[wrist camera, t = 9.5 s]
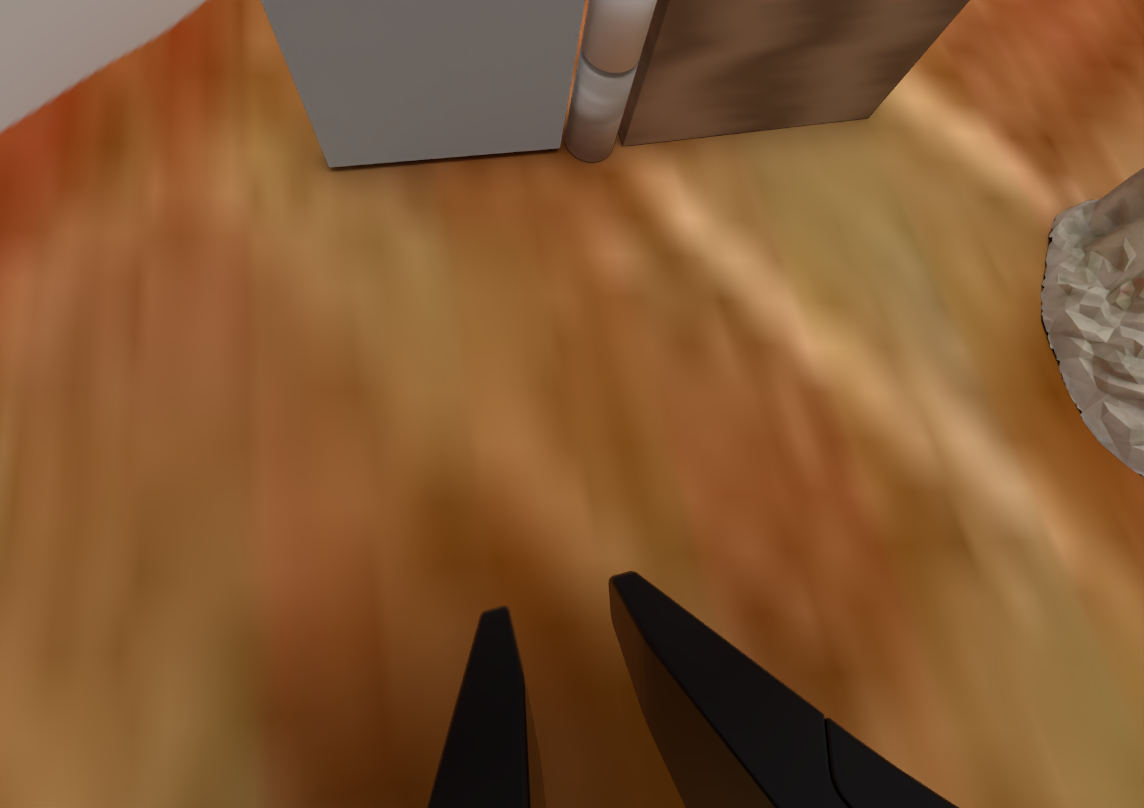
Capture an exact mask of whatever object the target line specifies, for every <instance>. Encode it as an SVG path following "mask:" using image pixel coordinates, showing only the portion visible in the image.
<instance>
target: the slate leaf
mask: <svg viewBox="0 0 1144 808" xmlns="http://www.w3.org/2000/svg"><path fill="white" fill-rule="evenodd" d="M261 2H262V5H263V7H264V9H265V12H266V14H267V17H268V19H269V22H270V24H271V27H272V29H273V31H274V34H275V36H276V39H277V41H278V44H279V46H280V49H281V51H282V53H283V56H284V58H285V61H286V63H287V66H288V68H289V71H290V73H291V75H292V78H293V80H294V83H295V85H296V88H297V90H298V93H299V95H300V97H301V100H302V102H303V105H304V107H305V110H306V112H307V115H308V117H309V119H310V122H311V124H312V127H313V129H314V132H315V134H316V137H317V139H318V141H319V144H320V146H321V149H322V151H323V154H324V156H325V159H326V161H327V163H328V166H329V167H341V166H353V165H365V164H377V163H389V162H401V161H413V160H425V159H437V158H449V157H461V156H473V155H485V154H497V153H509V152H521V151H533V150H545V149H557V148H560V145H561V139H562V133H563V127H564V121H565V115H566V110H567V104H568V98H569V92H570V86H571V80H572V74H573V69H574V63H575V57H576V51H577V45H578V39H579V33H580V27H581V22H582V16H583V10H584V4H585V0H261ZM656 2H657V0H589V2H588V8H587V14H586V19H585V25H584V31H583V36H582V42H581V47H582V51H583V54H584V56H585V57H586V59H587V60H588V61H589V62H590V63H591V64H592V65H594V66H595V67H597V68H598V69H600V70H603V71H606V72H610V73H621V72H626V71H628V70H630V69H632V68H633V67H634V66H635V65H636V64H637V63H638V61H639V59H640V56H641V52H642V49H643V46H644V42H645V39H646V36H647V32H648V29H649V26H650V22H651V19H652V16H653V12H654V9H655V6H656Z"/></svg>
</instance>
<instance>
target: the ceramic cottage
mask: <svg viewBox="0 0 1144 808" xmlns="http://www.w3.org/2000/svg"><path fill="white" fill-rule="evenodd" d="M1055 219H1056V220H1055V221H1054V222H1053V224H1052V226H1051V229H1053V231H1052V232H1051V233H1050V236H1049V238H1050V237H1052V242H1051V243H1050V244H1049V246H1048V250H1047V256H1046V263H1047V267H1046V269H1045V277H1046V278H1045V279H1044V280H1043V281H1042V286H1044V288H1043V289H1044V290H1043V289H1042V290H1043V291H1042V292H1041V301H1042V303H1043V304H1042V306H1041V309H1042V310H1043V312H1042V313H1041V314H1042V315H1043V321H1044V324H1045V328H1046V331H1047V332H1048V333H1049V335H1048V339H1049V342H1050V347H1051V348H1053V349H1054V352H1055V354H1056V357H1057V359H1056V360H1059V361H1060V365H1059V369H1060V372H1061V373H1062V376H1063V381H1064V382H1065V384H1066V387H1067V389H1068V391H1069V393H1070V395H1071V398H1072V400H1073V402H1074V403H1075V404H1077V407H1078V408H1079V409H1080V410H1081V411H1082V413H1081V414H1080V415H1081V417H1082V418H1083V421H1084V422H1085V424H1086V425H1087V427H1088V428H1089V429H1090V431H1091V432H1092V433H1093V435H1094V436H1095V437H1096V438H1097V440H1098V441H1099V442H1100V443H1101V444H1102V445H1103V446H1104V447H1106V448H1107V449H1108V450H1109V451H1110V452H1111V453H1112V454H1114V455H1115V456H1116V457H1117V458H1118V459H1120V460H1121V461H1122V462H1123V463H1124V464H1126V465H1127V466H1128V467H1130V468H1131V469H1132V470H1134V471H1135V472H1136V473H1138V474H1141V475H1142V476H1143V477H1144V168H1143V169H1141V170H1140V171H1138V172H1137V173H1135V174H1134V175H1132V176H1131V177H1129V178H1128V179H1127V180H1125V181H1124V182H1123V183H1121V184H1120V185H1119V186H1118V187H1116V188H1115V189H1114V190H1112V191H1111V192H1110V193H1108V194H1107V195H1106V196H1104V197H1103V198H1101V199H1100V200H1091V201H1085V202H1083V203H1081V204H1078V205H1076V206H1073V207H1071V208H1069V209H1067V210H1065V211H1063V212H1062V213H1060V214H1059V215H1057V216H1056V218H1055Z"/></svg>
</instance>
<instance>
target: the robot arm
mask: <svg viewBox="0 0 1144 808" xmlns="http://www.w3.org/2000/svg"><path fill="white" fill-rule="evenodd" d="M609 595H610V609H611V617H612V622H613V626H614V629H615V632H616V635H617V638H618V641H619V644H620V647H621V650H622V653H623V656H624V659H625V662H626V665H627V668H628V671H629V674H630V677H631V680H632V683H633V685H634V688H635V691H636V694H637V697H638V700H639V703H640V706H641V709H642V712H643V714H644V717H645V720H646V722H647V725H648V727H649V729H650V732H651V734H652V736H653V739H654V741H655V743H656V745H657V747H658V749H659V751H660V754H661V756H662V758H663V760H664V762H665V764H666V766H667V769H668V771H669V773H670V775H671V777H672V779H673V781H674V783H675V786H676V788H677V790H678V792H679V794H680V796H681V798H682V801H683V803H684V805H685V807H686V808H959V807H957V806H956V805H954V804H952V803H951V802H949V801H948V800H946V799H945V798H943V797H941V796H940V795H938V794H937V793H935V792H934V791H932V790H931V789H929V788H928V787H926V786H925V785H923V784H922V783H920V782H919V781H917V780H916V779H914V778H913V777H911V776H910V775H908V774H906V773H905V772H903V771H902V770H900V769H899V768H897V767H896V766H894V765H893V764H892V763H890V762H889V761H888V760H886V759H885V758H883V757H882V756H881V755H879V754H878V753H876V752H875V751H874V750H872V749H871V748H869V747H868V746H867V745H865V744H864V743H863V742H861V741H860V740H858V739H857V738H856V737H854V736H853V735H852V734H850V733H849V732H848V731H846V730H845V729H844V728H842V727H841V726H840V725H838V724H837V723H836V722H834V721H833V720H832V719H830V718H826V719H825V717H824V714H823V713H822V712H821V711H819V710H818V709H817V708H815V707H814V706H813V705H811V704H810V703H809V702H808V701H806V700H805V699H804V698H802V697H801V696H800V695H798V694H797V693H796V692H794V691H793V690H792V689H790V688H789V687H788V686H786V685H785V684H784V683H782V682H781V681H780V680H778V679H777V678H776V677H774V676H773V675H772V674H770V673H769V672H768V671H766V670H765V669H764V668H762V667H761V666H760V665H758V664H757V663H756V662H754V661H753V660H752V659H751V658H749V657H748V656H747V655H745V654H744V653H743V652H741V651H740V650H739V649H737V648H736V647H735V646H733V645H732V644H731V643H729V642H728V641H727V640H725V639H724V638H723V637H721V636H720V635H719V634H717V633H716V632H715V631H713V630H712V629H711V628H709V627H708V626H707V625H705V624H704V623H703V622H701V621H700V620H699V619H697V618H696V617H695V616H694V615H692V614H691V613H690V612H688V611H687V610H686V609H684V608H683V607H682V606H680V605H679V604H678V603H676V602H675V601H674V600H672V599H671V598H670V597H668V596H667V595H666V594H664V593H663V592H662V591H660V590H659V589H658V588H656V587H655V586H654V585H652V584H651V583H650V582H648V581H647V580H646V579H644V578H643V577H642V576H640V575H639V574H638V573H636V572H634V571H629V572H625V573H622V574H618V575H614V576H612V577H611V578H610V579H609ZM426 808H546V807H545V797H544V787H543V777H542V769H541V761H540V755H539V749H538V744H537V739H536V733H535V728H534V723H533V718H532V712H531V707H530V702H529V697H528V691H527V686H526V681H525V676H524V670H523V665H522V661H521V656H520V652H519V648H518V644H517V639H516V635H515V631H514V626H513V622H512V618H511V614H510V610H509V608H508V607H507V606H500V607H497V608H493V609H489V610H486V611H483V612H482V614H481V616H480V618H479V622H478V625H477V629H476V633H475V636H474V640H473V643H472V647H471V650H470V654H469V658H468V661H467V665H466V668H465V672H464V675H463V679H462V683H461V686H460V690H459V693H458V697H457V700H456V704H455V707H454V711H453V715H452V718H451V722H450V725H449V729H448V732H447V736H446V740H445V743H444V747H443V750H442V754H441V757H440V761H439V765H438V768H437V772H436V775H435V779H434V782H433V786H432V790H431V793H430V797H429V800H428V804H427V807H426Z"/></svg>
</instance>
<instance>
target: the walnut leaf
mask: <svg viewBox="0 0 1144 808" xmlns="http://www.w3.org/2000/svg"><path fill="white" fill-rule="evenodd" d="M968 2H969V0H657V2H656V6H655V9H654V12H653V16H652V19H651V22H650V26H649V29H648V32H647V36H646V39H645V42H644V46H643V49H642V52H641V56H640V59H639V61H638V63H637V64H636V65H635V66H634V67H633V68H632V69H630V70H628V71H626V72H621V73H610V72H606V71H603V70H600V69H598V68H597V67H595V66H594V65H592V64H591V63H590V62H589V61H588V60H587V59H586V57H585V56H584V54H583V51H582V47H581V48H580V53H579V59H578V64H577V70H576V76H575V81H574V87H573V93H572V98H571V104H570V110H569V115H568V121H567V127H566V132H565V144H566V147H567V149H568V150H569V152H570V153H571V154H572V155H573V156H575V157H576V158H578V159H580V160H582V161H585V162H599V161H602V160H604V159H605V158H607V157H608V156H609V155H610V153H611V152H612V149H613V146H614V143H615V140H616V136H617V133H618V132H619V135H620V138H621V142H622V145H623V146H630V145H638V144H647V143H656V142H664V141H673V140H682V139H690V138H699V137H708V136H716V135H725V134H734V133H742V132H751V131H760V130H768V129H777V128H786V127H794V126H803V125H812V124H821V123H829V122H838V121H847V120H855V119H864V118H869V117H870V116H871V115H872V114H873V112H874V111H875V110H876V109H877V108H878V107H879V105H880V104H881V103H882V102H883V101H884V100H885V98H886V97H887V96H888V95H889V94H890V93H891V91H892V90H893V89H894V88H895V87H896V86H897V84H898V83H899V82H900V81H901V80H902V79H903V77H904V76H905V75H906V74H907V73H908V72H909V70H910V69H911V68H912V67H913V66H914V65H915V63H916V62H917V61H918V60H919V59H920V58H921V56H922V55H923V54H924V53H925V52H926V51H927V49H928V48H929V47H930V46H931V45H932V44H933V42H934V41H935V40H936V39H937V38H938V37H939V35H940V34H941V33H942V32H943V31H944V30H945V28H946V27H947V26H948V25H949V24H950V23H951V21H952V20H953V19H954V18H955V17H956V16H957V14H958V13H959V12H960V11H961V10H962V9H963V7H964V6H965V5H966V4H967V3H968Z"/></svg>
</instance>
